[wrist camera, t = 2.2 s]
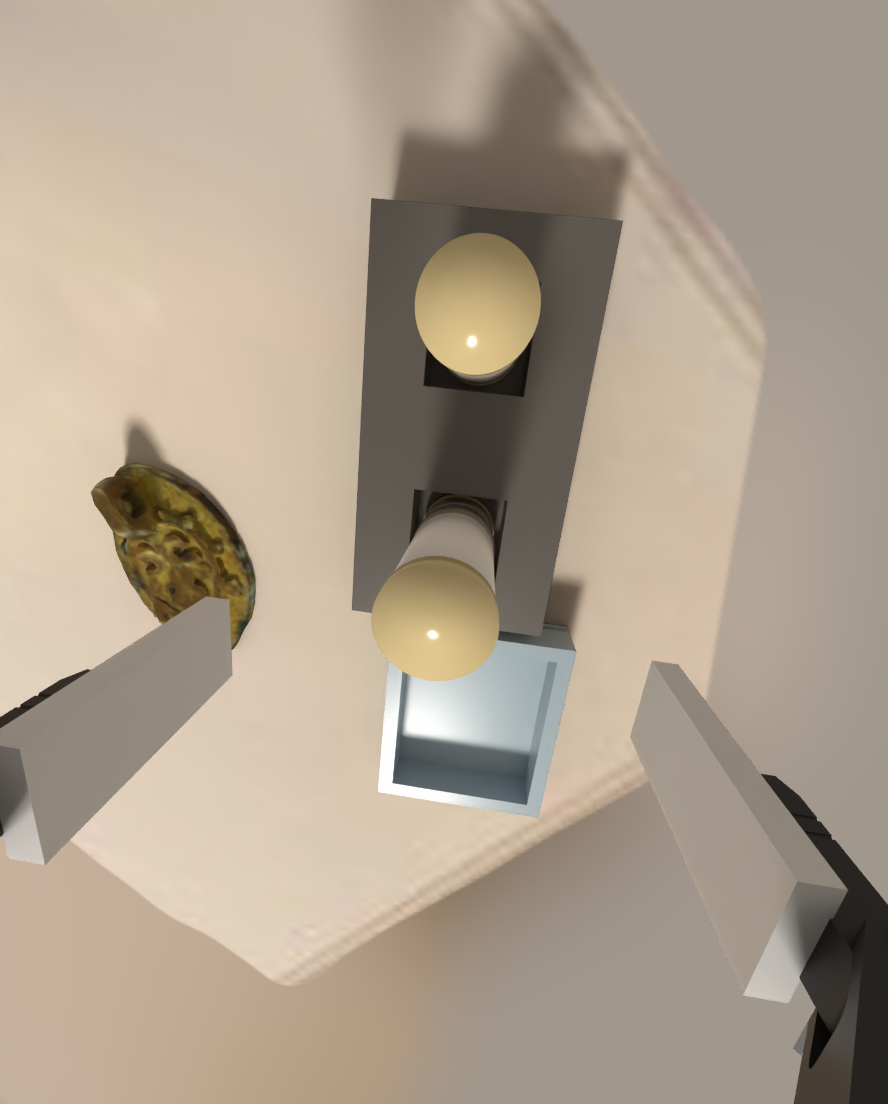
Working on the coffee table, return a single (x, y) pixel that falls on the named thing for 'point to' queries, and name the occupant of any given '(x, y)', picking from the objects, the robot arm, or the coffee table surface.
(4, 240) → the coffee table surface
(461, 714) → the parts tray
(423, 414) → the fuse holder
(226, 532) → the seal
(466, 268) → the fuse
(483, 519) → the cylinder
